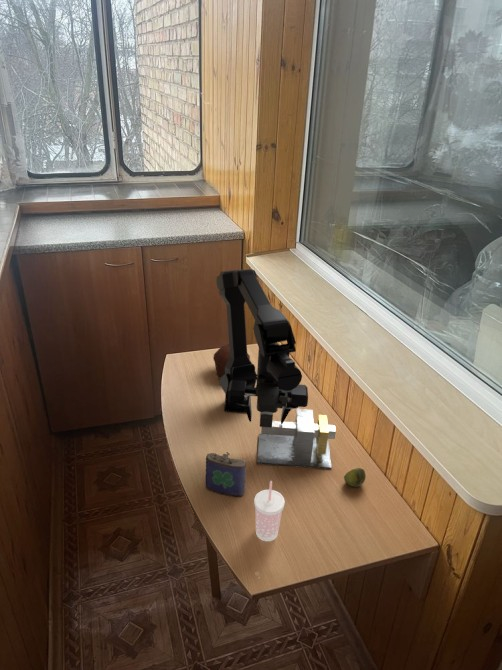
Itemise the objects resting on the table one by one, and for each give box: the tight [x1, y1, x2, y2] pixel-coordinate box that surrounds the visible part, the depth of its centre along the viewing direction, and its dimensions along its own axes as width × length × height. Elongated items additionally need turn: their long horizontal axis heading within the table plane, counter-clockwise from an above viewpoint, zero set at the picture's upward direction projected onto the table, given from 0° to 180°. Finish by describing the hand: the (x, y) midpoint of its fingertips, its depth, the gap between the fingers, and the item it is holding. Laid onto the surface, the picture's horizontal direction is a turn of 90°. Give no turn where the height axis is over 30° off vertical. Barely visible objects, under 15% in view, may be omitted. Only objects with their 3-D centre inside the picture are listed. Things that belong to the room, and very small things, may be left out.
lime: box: [343, 467, 367, 488], centre depth 119 cm, size 4×5×5 cm
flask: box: [204, 451, 247, 498], centre depth 114 cm, size 9×3×11 cm, turn 74°
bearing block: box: [256, 408, 332, 470], centre depth 127 cm, size 18×11×10 cm, turn 87°
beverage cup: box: [253, 480, 286, 542], centre depth 103 cm, size 6×6×14 cm
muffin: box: [213, 343, 251, 381], centre depth 158 cm, size 12×11×10 cm
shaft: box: [259, 412, 337, 440], centre depth 125 cm, size 18×3×6 cm, turn 87°
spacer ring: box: [316, 414, 329, 455], centre depth 126 cm, size 2×7×7 cm, turn 177°
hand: (265, 421), depth 125 cm, fingers open, 7 cm apart
